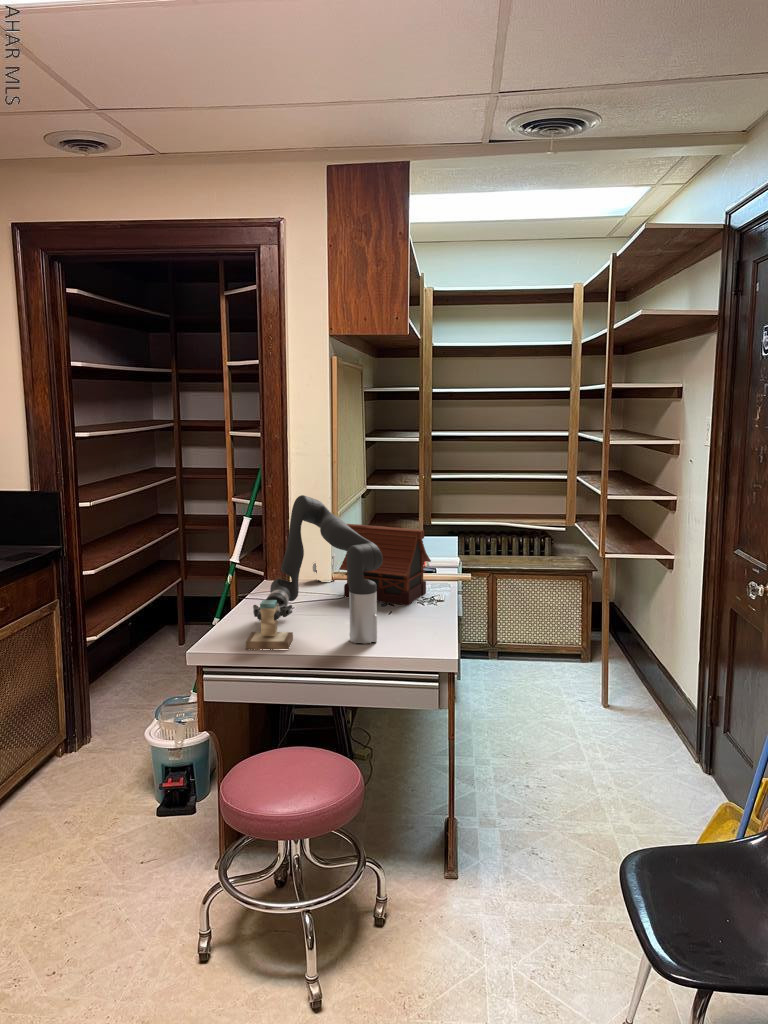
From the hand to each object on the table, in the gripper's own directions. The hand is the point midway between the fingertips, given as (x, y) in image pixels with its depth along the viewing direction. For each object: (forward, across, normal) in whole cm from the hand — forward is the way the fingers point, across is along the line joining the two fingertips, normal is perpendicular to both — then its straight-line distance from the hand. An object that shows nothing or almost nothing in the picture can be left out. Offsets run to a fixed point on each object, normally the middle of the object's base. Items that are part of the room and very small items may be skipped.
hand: (267, 617), depth 238 cm
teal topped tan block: (-3, 0, +6) cm, 7 cm away
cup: (-88, +9, +11) cm, 89 cm away
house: (-65, +36, +11) cm, 75 cm away
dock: (-3, 0, +10) cm, 11 cm away
